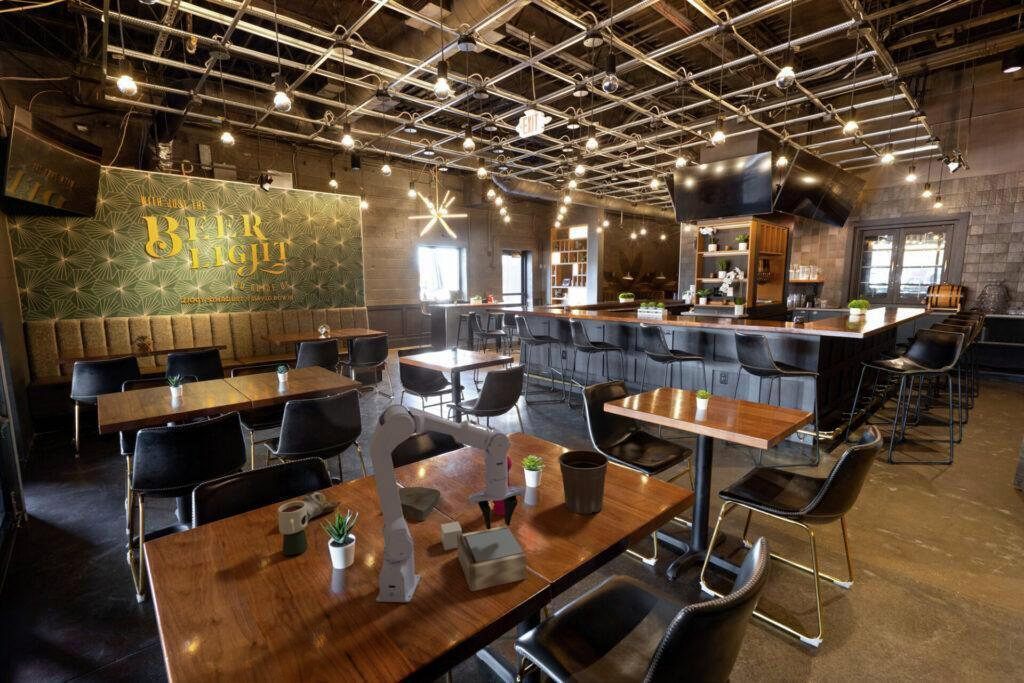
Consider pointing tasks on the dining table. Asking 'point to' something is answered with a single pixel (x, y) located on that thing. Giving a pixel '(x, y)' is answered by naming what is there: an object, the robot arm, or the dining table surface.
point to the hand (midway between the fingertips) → (497, 525)
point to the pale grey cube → (450, 534)
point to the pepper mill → (499, 504)
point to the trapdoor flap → (493, 545)
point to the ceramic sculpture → (317, 504)
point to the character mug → (293, 527)
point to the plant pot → (583, 480)
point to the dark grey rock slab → (418, 501)
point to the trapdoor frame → (489, 565)
